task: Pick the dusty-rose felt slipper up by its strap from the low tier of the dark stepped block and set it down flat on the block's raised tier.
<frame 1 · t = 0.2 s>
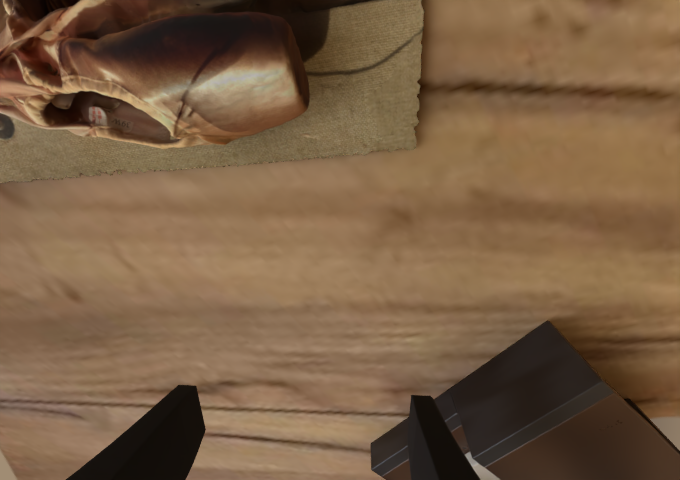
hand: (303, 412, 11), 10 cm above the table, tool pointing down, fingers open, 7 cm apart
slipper: (461, 478, 23), point 2 cm above the table, touching dark stepped block
dark stepped block: (495, 425, 24), on the table
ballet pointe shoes: (158, 40, 16), on the table
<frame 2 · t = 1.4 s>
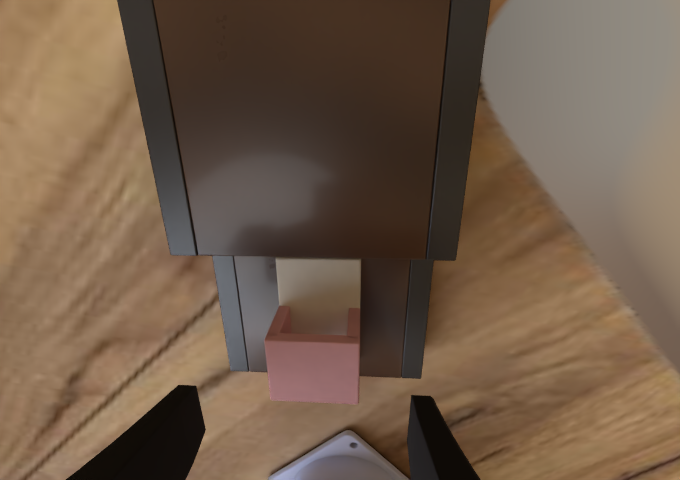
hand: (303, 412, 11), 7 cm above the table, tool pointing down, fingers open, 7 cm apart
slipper: (322, 307, 15), point 2 cm above the table, touching dark stepped block
dark stepped block: (324, 216, 16), on the table
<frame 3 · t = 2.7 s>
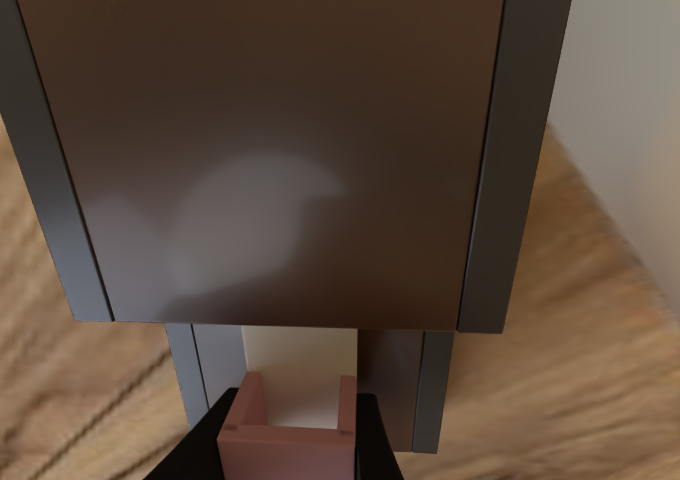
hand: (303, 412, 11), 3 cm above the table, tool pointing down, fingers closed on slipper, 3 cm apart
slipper: (306, 367, 12), point 2 cm above the table, touching gripper, dark stepped block
dark stepped block: (311, 246, 12), on the table
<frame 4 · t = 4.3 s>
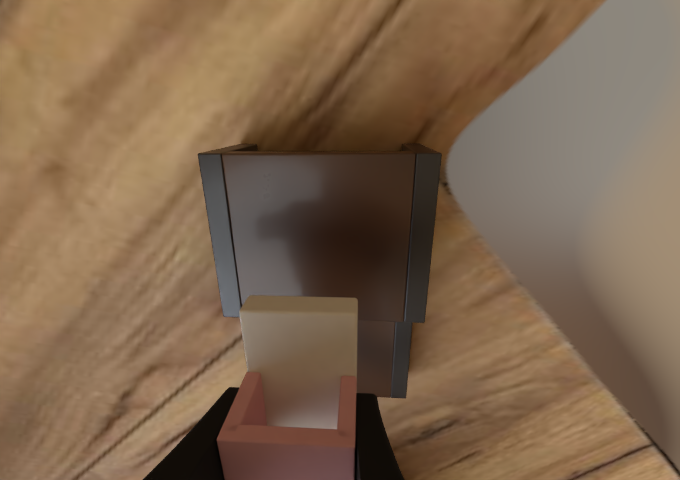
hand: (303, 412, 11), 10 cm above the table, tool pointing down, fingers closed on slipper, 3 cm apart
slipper: (306, 367, 12), point 9 cm above the table, touching gripper
dark stepped block: (330, 274, 21), on the table
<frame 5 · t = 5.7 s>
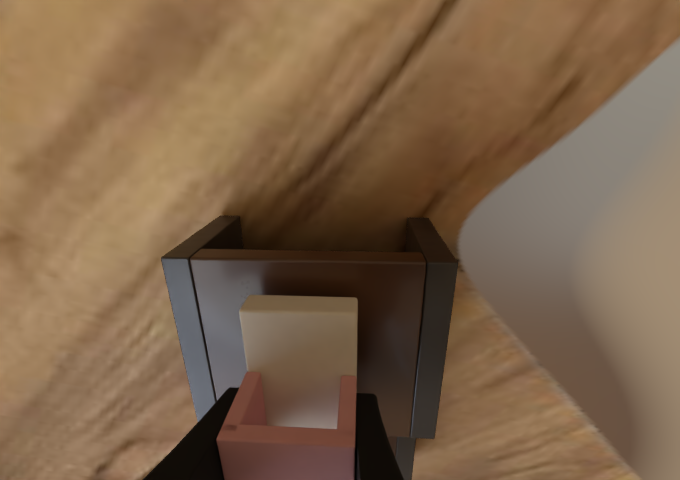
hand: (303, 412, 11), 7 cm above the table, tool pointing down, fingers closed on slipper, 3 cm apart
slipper: (306, 367, 12), point 6 cm above the table, touching gripper
dark stepped block: (326, 352, 18), on the table
when the fingers open (6 cm above the table, at t = 6.2 s): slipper stays where it is, resting on dark stepped block.
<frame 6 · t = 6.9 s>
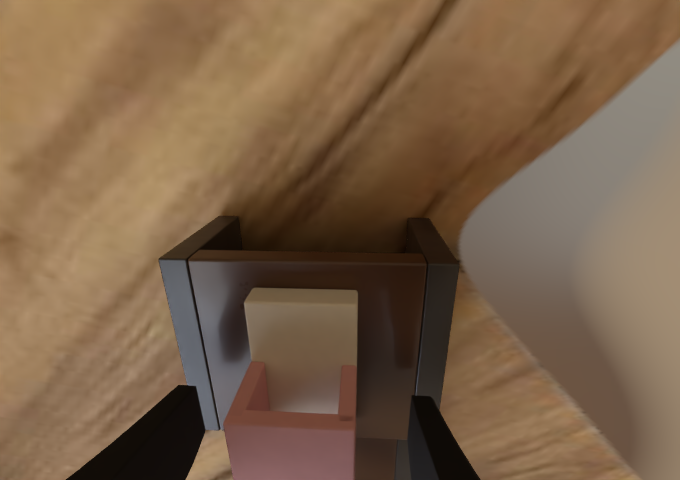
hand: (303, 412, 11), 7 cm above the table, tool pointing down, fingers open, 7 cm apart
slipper: (308, 358, 12), point 5 cm above the table, touching dark stepped block
dark stepped block: (325, 353, 18), on the table
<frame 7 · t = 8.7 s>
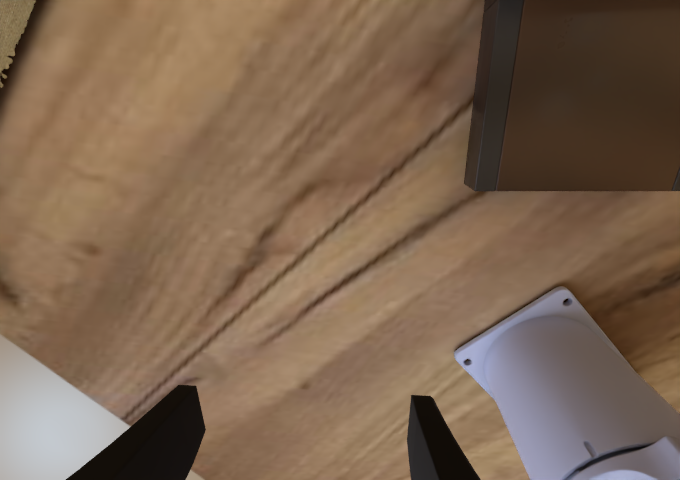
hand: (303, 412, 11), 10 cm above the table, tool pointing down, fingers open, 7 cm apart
dark stepped block: (597, 7, 15), on the table
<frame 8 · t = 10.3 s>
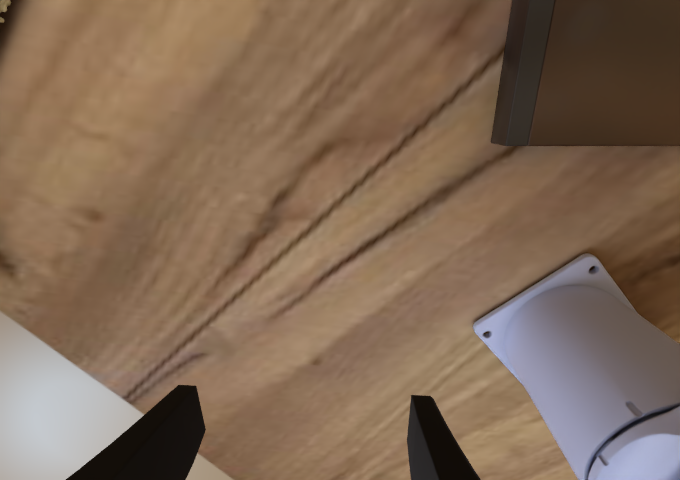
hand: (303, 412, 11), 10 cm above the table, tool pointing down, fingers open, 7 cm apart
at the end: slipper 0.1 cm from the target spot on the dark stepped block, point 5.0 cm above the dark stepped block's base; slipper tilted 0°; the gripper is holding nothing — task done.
